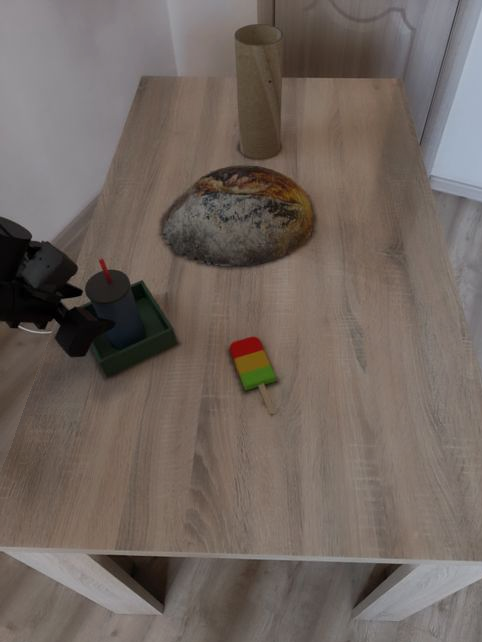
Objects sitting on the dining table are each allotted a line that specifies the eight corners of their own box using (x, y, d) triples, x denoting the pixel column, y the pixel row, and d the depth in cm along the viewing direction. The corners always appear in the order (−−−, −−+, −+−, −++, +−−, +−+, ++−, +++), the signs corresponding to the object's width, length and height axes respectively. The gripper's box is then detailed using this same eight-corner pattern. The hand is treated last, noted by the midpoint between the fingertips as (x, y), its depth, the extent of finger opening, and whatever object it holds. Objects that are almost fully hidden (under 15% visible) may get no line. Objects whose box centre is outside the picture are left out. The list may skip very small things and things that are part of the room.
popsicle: (257, 339, 84) (257, 333, 83) (288, 411, 76) (289, 405, 75) (228, 348, 83) (227, 342, 82) (256, 421, 75) (256, 416, 74)
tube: (287, 144, 118) (292, 32, 98) (264, 163, 114) (264, 50, 93) (255, 131, 122) (253, 20, 101) (231, 149, 117) (224, 37, 96)
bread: (324, 260, 95) (329, 221, 87) (161, 272, 94) (151, 233, 85) (304, 176, 111) (307, 136, 103) (164, 186, 109) (155, 146, 101)
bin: (106, 377, 80) (99, 363, 76) (80, 324, 86) (72, 308, 83) (177, 344, 84) (173, 328, 80) (147, 295, 90) (142, 279, 87)
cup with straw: (136, 356, 82) (108, 284, 67) (101, 346, 83) (65, 274, 68) (153, 326, 86) (129, 252, 71) (119, 317, 87) (89, 242, 72)
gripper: (62, 285, 56) (155, 297, 70) (-11, 211, 64) (85, 235, 77) (28, 360, 59) (123, 358, 73) (-38, 282, 67) (59, 293, 80)
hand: (97, 308), depth 76 cm, fingers open, 9 cm apart
